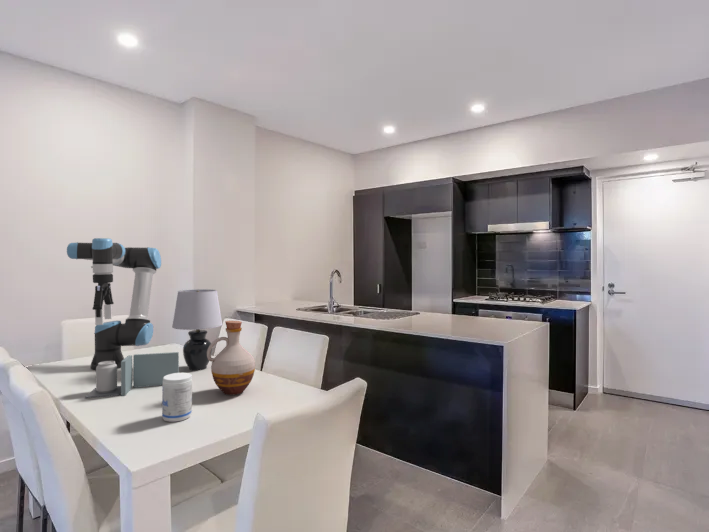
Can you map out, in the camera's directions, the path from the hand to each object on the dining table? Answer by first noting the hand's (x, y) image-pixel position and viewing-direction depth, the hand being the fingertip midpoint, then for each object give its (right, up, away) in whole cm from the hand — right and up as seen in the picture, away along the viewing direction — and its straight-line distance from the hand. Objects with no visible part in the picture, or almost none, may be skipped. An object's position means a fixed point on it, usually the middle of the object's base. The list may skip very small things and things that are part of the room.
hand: (103, 321), depth 176 cm
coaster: (+7, -28, -8) cm, 30 cm away
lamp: (+30, -28, +30) cm, 51 cm away
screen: (+23, -28, -4) cm, 37 cm away
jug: (+58, -29, -8) cm, 66 cm away
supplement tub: (+48, -29, -35) cm, 66 cm away
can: (+6, -28, -8) cm, 30 cm away
